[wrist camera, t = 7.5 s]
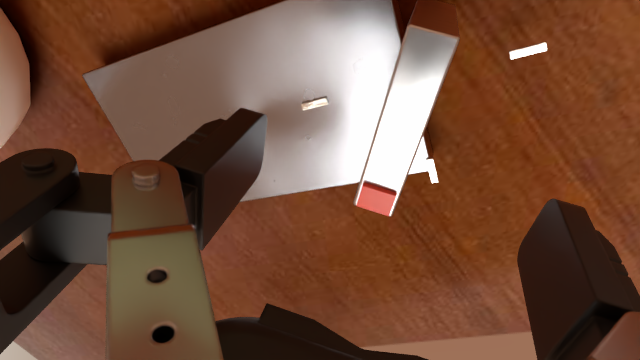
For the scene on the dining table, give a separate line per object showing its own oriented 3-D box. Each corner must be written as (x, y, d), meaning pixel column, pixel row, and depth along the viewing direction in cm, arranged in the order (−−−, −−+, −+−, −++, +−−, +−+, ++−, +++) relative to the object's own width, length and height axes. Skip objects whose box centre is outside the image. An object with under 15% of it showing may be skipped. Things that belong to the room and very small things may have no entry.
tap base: (523, -107, 16) (533, -111, 14) (547, 144, 21) (556, 164, 19) (99, 55, 25) (72, 65, 23) (184, 205, 30) (167, 223, 28)
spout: (418, -5, 17) (407, 25, 12) (456, 4, 17) (461, 39, 12) (374, 139, 21) (351, 209, 16) (404, 148, 21) (390, 221, 16)
